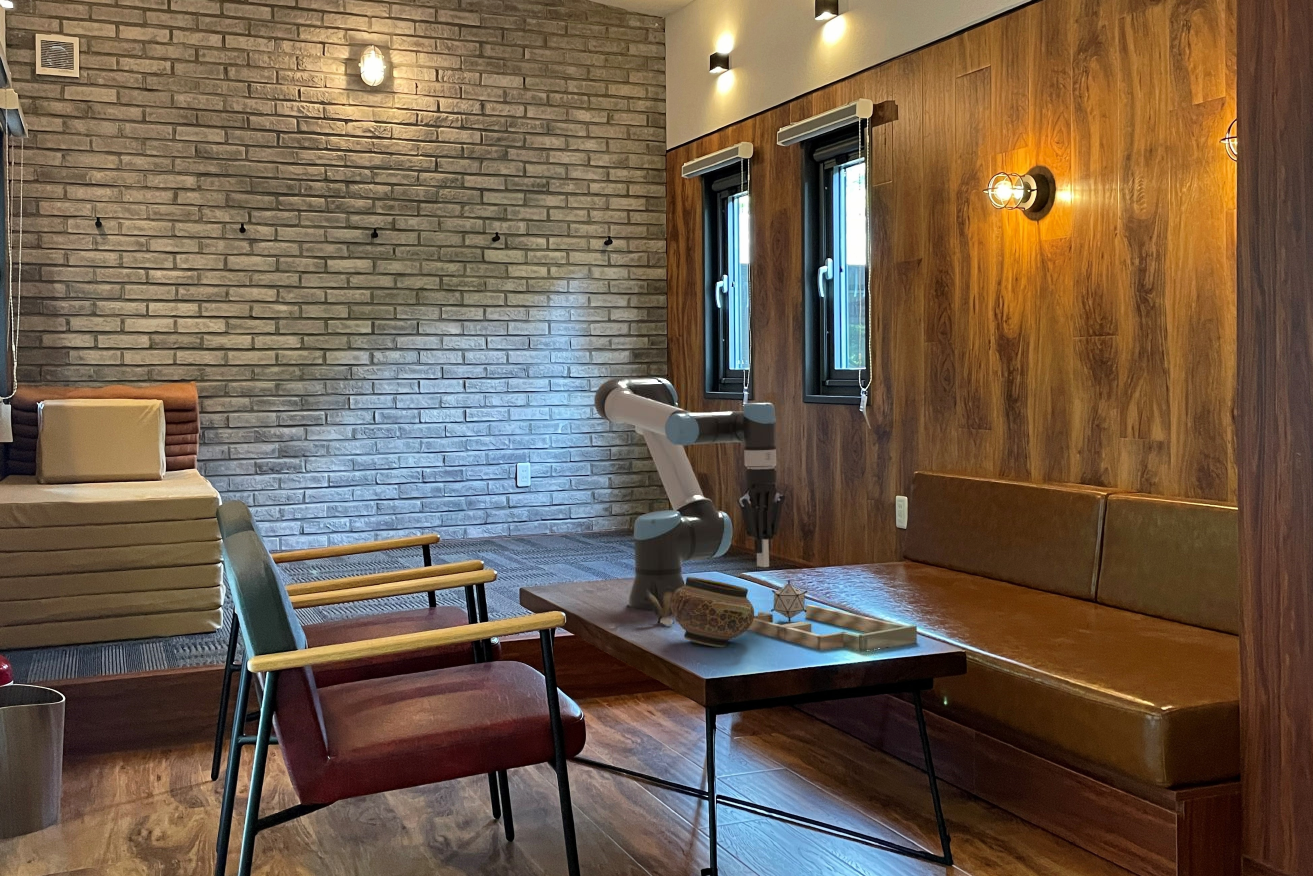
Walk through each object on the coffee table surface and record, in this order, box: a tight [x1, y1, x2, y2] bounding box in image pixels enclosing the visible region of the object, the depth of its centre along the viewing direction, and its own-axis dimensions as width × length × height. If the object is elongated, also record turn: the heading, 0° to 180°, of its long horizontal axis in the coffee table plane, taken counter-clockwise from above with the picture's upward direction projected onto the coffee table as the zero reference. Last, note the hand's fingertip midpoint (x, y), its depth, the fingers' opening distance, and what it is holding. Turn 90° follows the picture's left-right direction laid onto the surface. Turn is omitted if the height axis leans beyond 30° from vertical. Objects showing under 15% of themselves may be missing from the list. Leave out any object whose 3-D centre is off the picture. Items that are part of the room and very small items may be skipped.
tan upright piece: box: [646, 586, 676, 626], centre depth 281 cm, size 8×7×9 cm
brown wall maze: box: [746, 604, 918, 652], centre depth 268 cm, size 35×21×4 cm, turn 33°
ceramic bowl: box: [671, 576, 755, 648], centre depth 259 cm, size 24×18×15 cm
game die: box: [770, 579, 809, 623], centre depth 283 cm, size 9×8×10 cm
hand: (763, 566), depth 291 cm, fingers closed
